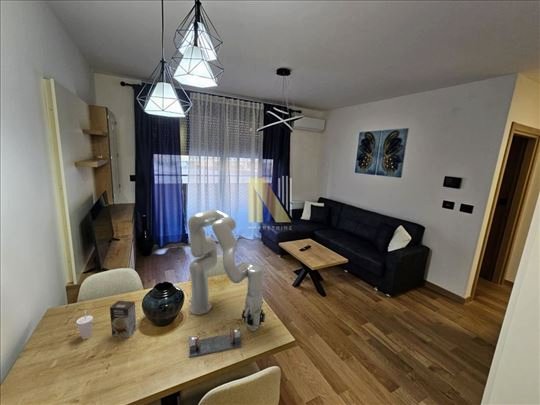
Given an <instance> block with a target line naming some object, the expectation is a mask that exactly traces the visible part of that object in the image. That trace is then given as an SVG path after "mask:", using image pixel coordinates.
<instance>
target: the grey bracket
mask: <svg viewBox="0 0 540 405" xmlns="http://www.w3.org/2000/svg"><path fill="white" fill-rule="evenodd" d="M241 331H242V330H241V328H233V327H232V326H231V327H230V329H229V334H224V335H223V334H222V335H216V336H211V337H206V338H201V339H200V332H197V334H196V335H193V336H191V335H190V336H189V337H188V348H189V350H188V352H189V353H188V358H190V359H191V358H194V357H199V356H204V355H209V354H213V353H214V354H215V353H219V352H224V351H225V352H226V351H230V350H234V349H241V348H242V340H241V338H242V332H241Z"/></svg>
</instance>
